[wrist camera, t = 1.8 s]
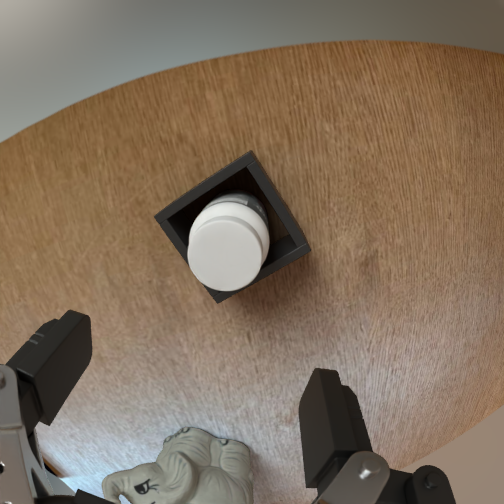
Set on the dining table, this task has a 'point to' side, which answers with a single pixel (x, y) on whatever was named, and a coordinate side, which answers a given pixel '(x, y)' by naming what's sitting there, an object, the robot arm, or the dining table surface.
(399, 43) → the dining table surface
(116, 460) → the dining table surface
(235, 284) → the pill bottle
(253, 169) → the holder
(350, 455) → the robot arm
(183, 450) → the elephant cookie jar
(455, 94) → the dining table surface
